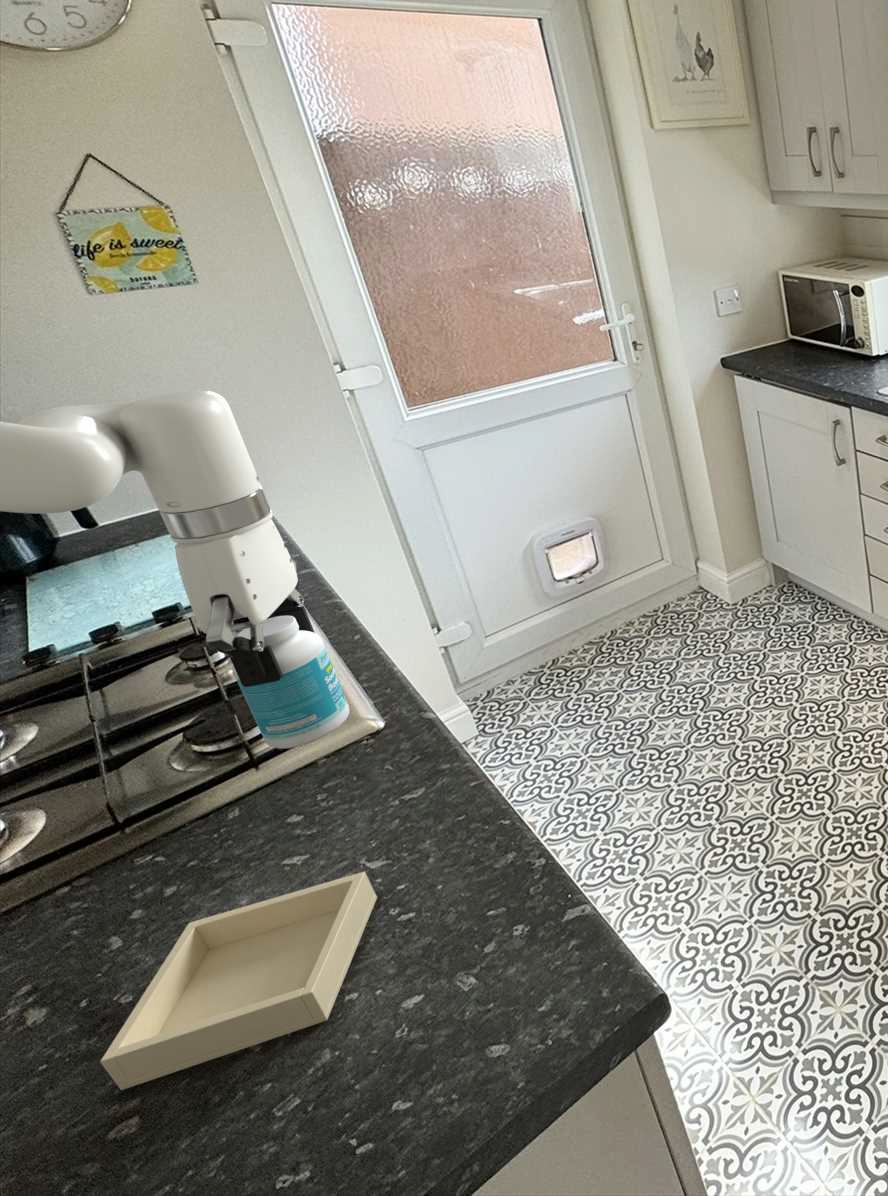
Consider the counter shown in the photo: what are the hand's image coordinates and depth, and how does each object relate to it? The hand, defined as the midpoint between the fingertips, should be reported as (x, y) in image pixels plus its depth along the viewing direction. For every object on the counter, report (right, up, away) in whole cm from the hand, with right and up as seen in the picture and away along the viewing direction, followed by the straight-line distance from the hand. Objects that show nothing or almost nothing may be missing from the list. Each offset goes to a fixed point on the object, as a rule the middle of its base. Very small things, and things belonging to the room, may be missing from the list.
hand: (281, 659), depth 85 cm
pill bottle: (0, -9, +3) cm, 10 cm away
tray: (+12, -25, -15) cm, 32 cm away
